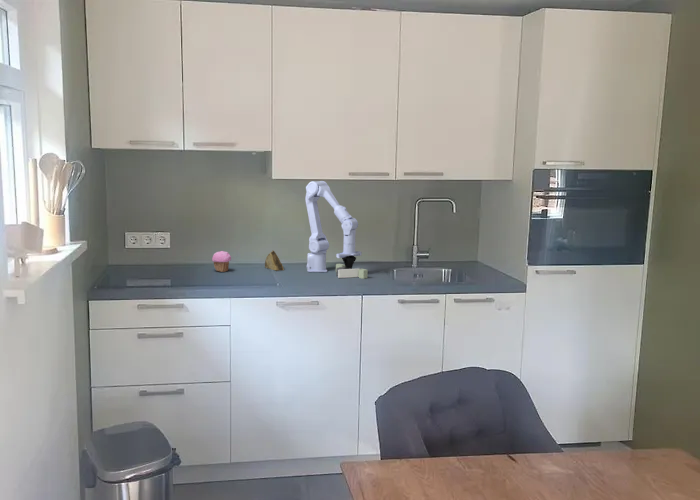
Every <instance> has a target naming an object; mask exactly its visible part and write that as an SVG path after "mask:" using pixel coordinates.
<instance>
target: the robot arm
mask: <svg viewBox="0 0 700 500" xmlns="http://www.w3.org/2000/svg"><path fill="white" fill-rule="evenodd" d="M305 191H306V193H305V198H304V199H305V206H306V210H307V215H308V222H309V226H310V228H309V229H310V232H311V235H310V236H309V239H308V241H309V242H308V243H309V244H308V250H309V251H310V252H308V253H307V254H306V255H307V256H306V270H307V272H308V273H321V272H324V273H328V269H327V251H328V250H329V248H330V243H329V241H328V239H327V236H326V234H324V232H323V228H322V222H321V217H320V212H319V211H320V210H319V206H318V201H319V199H320V197H322V198H324V199H325V201H327V203H328V204H329V205H330V206H331V208H332V209H333V210H334V211H333V214H334V216H335V217H336V218H337V219H338V221H339V222H340V224H341V230H342V231H343V241H342V242H343V249H342V252H340V253H336V254H335V256H336V258H337V259H341V260H342V261H343V263H344V265H345V267H348V268H351V269H353V265H354V263H355V261H356V260H357V256H358V257H360V256H361V257H362V251H360V250H359V251H356V236H357V235H356V232H357V231H356V230H357V229H358V227H359V222H358V220H357V218H355V217H353V216H352V215H351V214H350V213H349V211H348V210H347V207H346V206H344V205H340V203H339V201H338V200H337V199H336V197H335V195H334V194H333V192H332V190H331V188H330V186H329V185H328V183H327V182H326V181H323V180H320V181H310V182H309V183H308V184H306V186H305Z"/></svg>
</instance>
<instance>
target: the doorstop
mask: <svg viewBox="0 0 700 500" xmlns="http://www.w3.org/2000/svg"><path fill="white" fill-rule="evenodd" d="M341 269H351V268H348V267H339V268H337V269H336V268H335V273H336V277H337V276H338V270H341Z"/></svg>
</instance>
